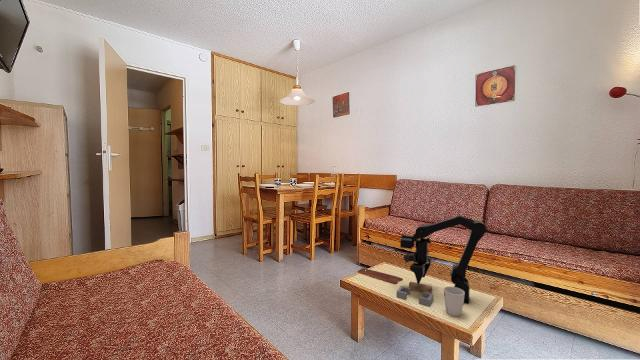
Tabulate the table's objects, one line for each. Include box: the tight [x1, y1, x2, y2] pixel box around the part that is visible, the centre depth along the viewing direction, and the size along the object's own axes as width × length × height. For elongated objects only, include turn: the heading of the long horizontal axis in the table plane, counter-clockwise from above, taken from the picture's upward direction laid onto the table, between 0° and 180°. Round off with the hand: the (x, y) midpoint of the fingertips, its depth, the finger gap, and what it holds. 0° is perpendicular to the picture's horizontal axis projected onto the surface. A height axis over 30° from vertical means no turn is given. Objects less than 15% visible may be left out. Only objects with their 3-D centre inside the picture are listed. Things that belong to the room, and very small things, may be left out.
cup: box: [443, 286, 465, 317], centre depth 116 cm, size 8×8×10 cm
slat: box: [408, 280, 433, 294], centre depth 137 cm, size 11×4×4 cm, turn 60°
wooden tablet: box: [356, 267, 404, 285], centre depth 157 cm, size 27×10×2 cm, turn 49°
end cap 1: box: [395, 285, 412, 301], centre depth 132 cm, size 5×7×3 cm, turn 144°
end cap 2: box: [418, 292, 434, 307], centre depth 126 cm, size 5×7×3 cm, turn 144°
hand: (420, 280), depth 137 cm, fingers open, 9 cm apart
